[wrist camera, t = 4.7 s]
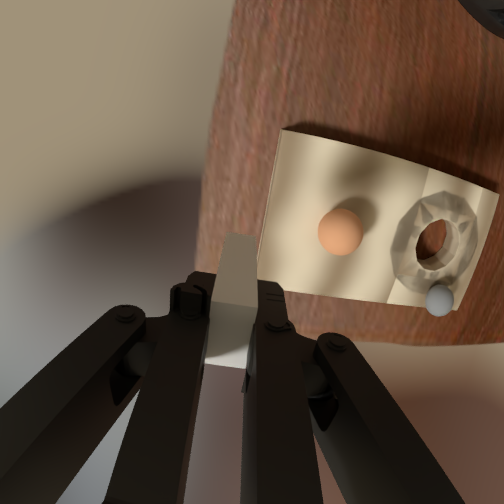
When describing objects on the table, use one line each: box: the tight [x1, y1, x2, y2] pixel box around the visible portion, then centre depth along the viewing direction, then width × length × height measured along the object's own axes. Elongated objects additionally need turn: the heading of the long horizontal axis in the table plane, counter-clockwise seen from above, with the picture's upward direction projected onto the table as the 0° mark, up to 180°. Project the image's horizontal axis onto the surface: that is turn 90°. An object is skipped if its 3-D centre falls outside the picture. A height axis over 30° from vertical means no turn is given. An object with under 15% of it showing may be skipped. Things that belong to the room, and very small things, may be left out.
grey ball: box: [425, 285, 454, 316], centre depth 26 cm, size 3×3×3 cm
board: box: [257, 129, 499, 310], centre depth 26 cm, size 22×13×2 cm, turn 81°
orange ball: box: [318, 209, 364, 256], centre depth 23 cm, size 4×4×4 cm
